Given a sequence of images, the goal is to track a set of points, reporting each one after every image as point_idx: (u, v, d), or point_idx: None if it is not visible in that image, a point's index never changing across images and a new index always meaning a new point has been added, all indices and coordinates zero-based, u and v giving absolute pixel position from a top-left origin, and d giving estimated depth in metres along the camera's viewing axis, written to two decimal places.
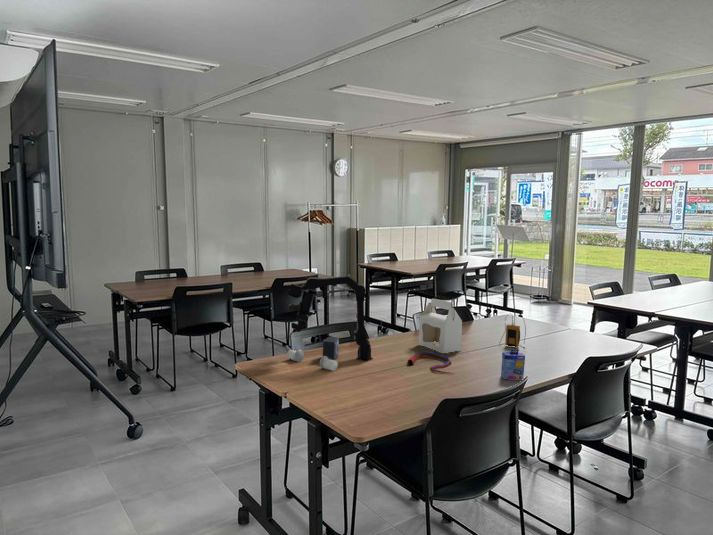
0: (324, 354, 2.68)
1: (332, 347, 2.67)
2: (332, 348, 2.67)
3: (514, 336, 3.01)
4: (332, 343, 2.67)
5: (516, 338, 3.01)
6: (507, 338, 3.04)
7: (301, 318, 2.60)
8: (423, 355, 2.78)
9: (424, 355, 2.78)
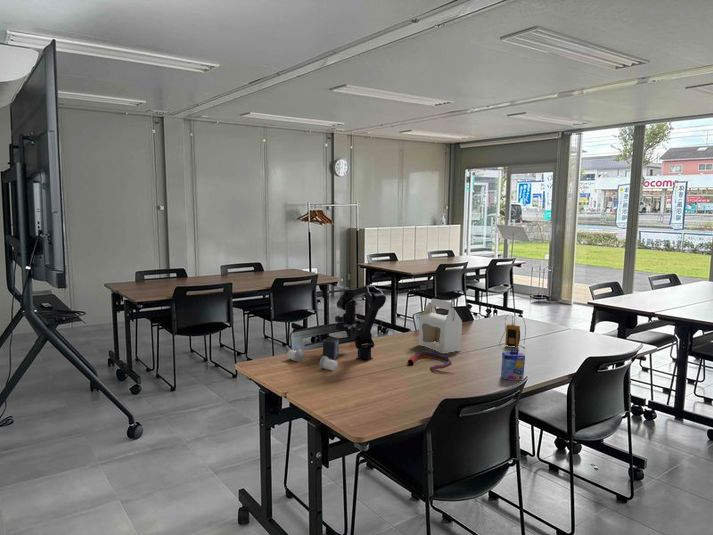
0: (324, 354, 2.68)
1: (332, 347, 2.67)
2: (332, 348, 2.67)
3: (514, 336, 3.01)
4: (332, 343, 2.67)
5: (516, 338, 3.01)
6: (507, 338, 3.04)
7: (339, 328, 2.77)
8: (423, 355, 2.78)
9: (424, 355, 2.78)
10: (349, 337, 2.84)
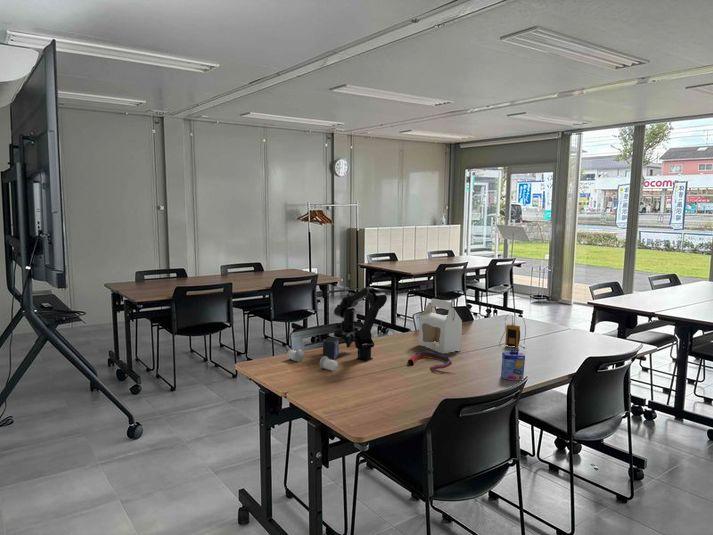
0: (324, 354, 2.68)
1: (332, 347, 2.67)
2: (332, 348, 2.67)
3: (514, 336, 3.01)
4: (332, 343, 2.67)
5: (516, 338, 3.01)
6: (507, 338, 3.04)
7: (337, 335, 2.76)
8: (424, 355, 2.78)
9: (425, 355, 2.78)
10: (347, 345, 2.83)
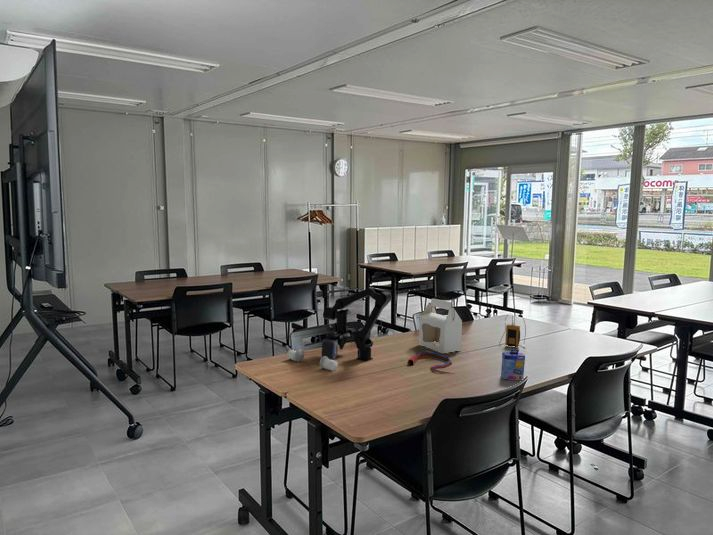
0: (323, 354, 2.67)
1: (331, 347, 2.66)
2: (331, 348, 2.66)
3: (514, 336, 3.01)
4: (331, 343, 2.66)
5: (516, 338, 3.01)
6: (507, 338, 3.04)
7: (329, 337, 2.71)
8: (424, 355, 2.78)
9: (425, 355, 2.78)
10: (340, 347, 2.79)
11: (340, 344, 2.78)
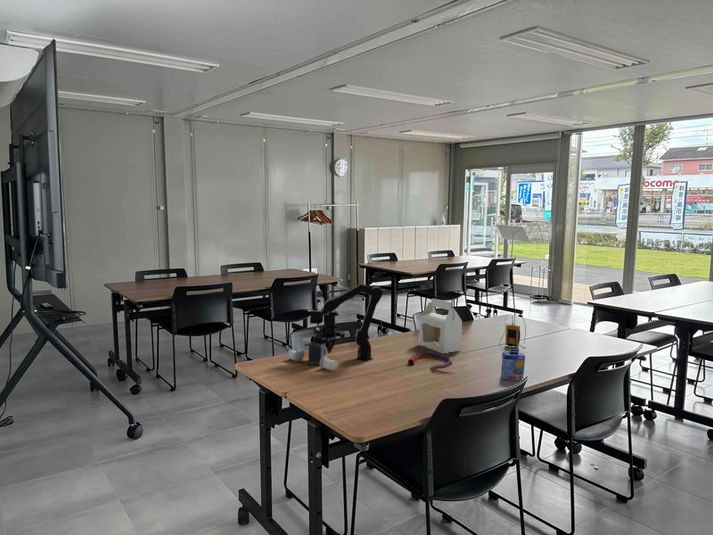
0: (310, 358, 2.60)
1: (318, 351, 2.58)
2: (318, 352, 2.58)
3: (514, 336, 3.01)
4: (318, 347, 2.58)
5: (516, 338, 3.01)
6: (507, 338, 3.04)
7: (317, 341, 2.64)
8: (424, 355, 2.78)
9: (425, 355, 2.78)
10: (328, 350, 2.71)
11: (328, 347, 2.70)
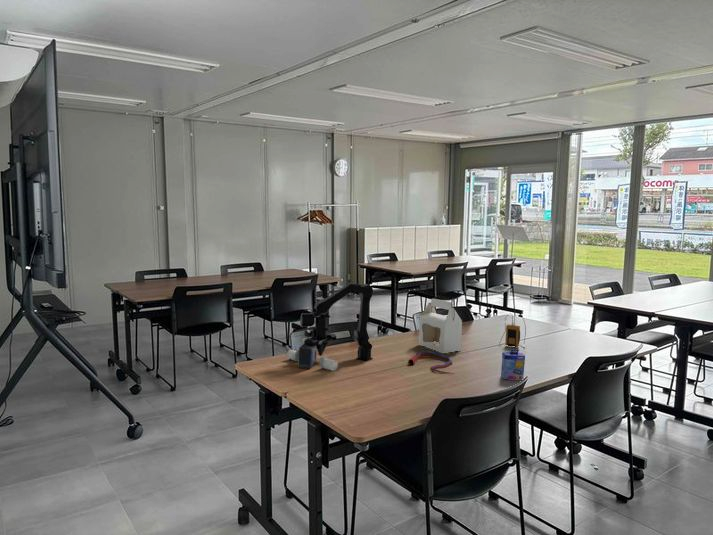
0: (300, 361, 2.54)
1: (308, 354, 2.53)
2: (308, 355, 2.53)
3: (514, 336, 3.01)
4: (308, 350, 2.53)
5: (516, 338, 3.01)
6: (507, 338, 3.04)
7: (307, 343, 2.58)
8: (424, 355, 2.78)
9: (425, 355, 2.78)
10: (319, 353, 2.65)
11: (319, 350, 2.65)
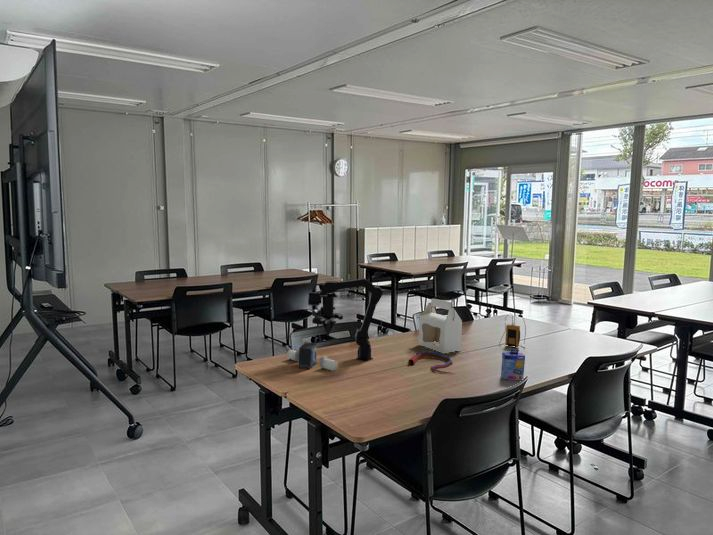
0: (300, 361, 2.54)
1: (308, 354, 2.53)
2: (308, 355, 2.53)
3: (514, 336, 3.01)
4: (308, 350, 2.53)
5: (516, 338, 3.01)
6: (507, 338, 3.04)
7: (315, 322, 2.63)
8: (425, 355, 2.78)
9: (426, 355, 2.78)
10: (327, 332, 2.70)
11: (326, 329, 2.69)
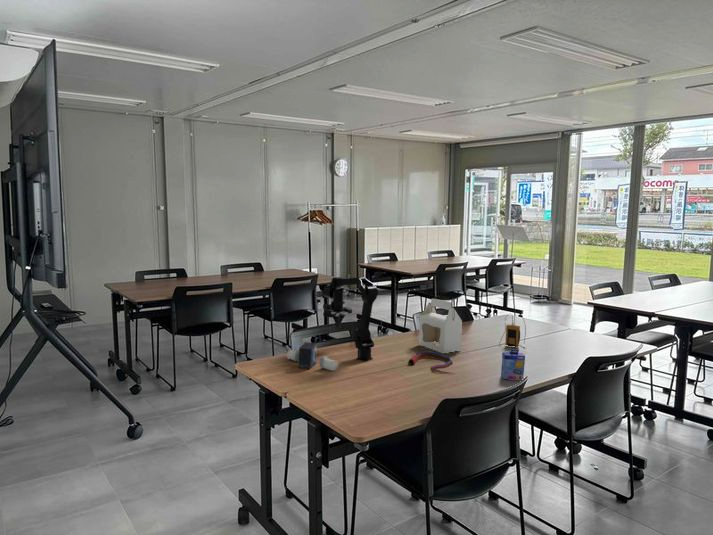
0: (300, 361, 2.54)
1: (308, 354, 2.53)
2: (308, 355, 2.53)
3: (514, 336, 3.01)
4: (308, 350, 2.53)
5: (516, 338, 3.01)
6: (507, 338, 3.04)
7: (326, 315, 2.80)
8: (425, 355, 2.78)
9: (426, 355, 2.78)
10: (337, 324, 2.87)
11: (336, 322, 2.87)
